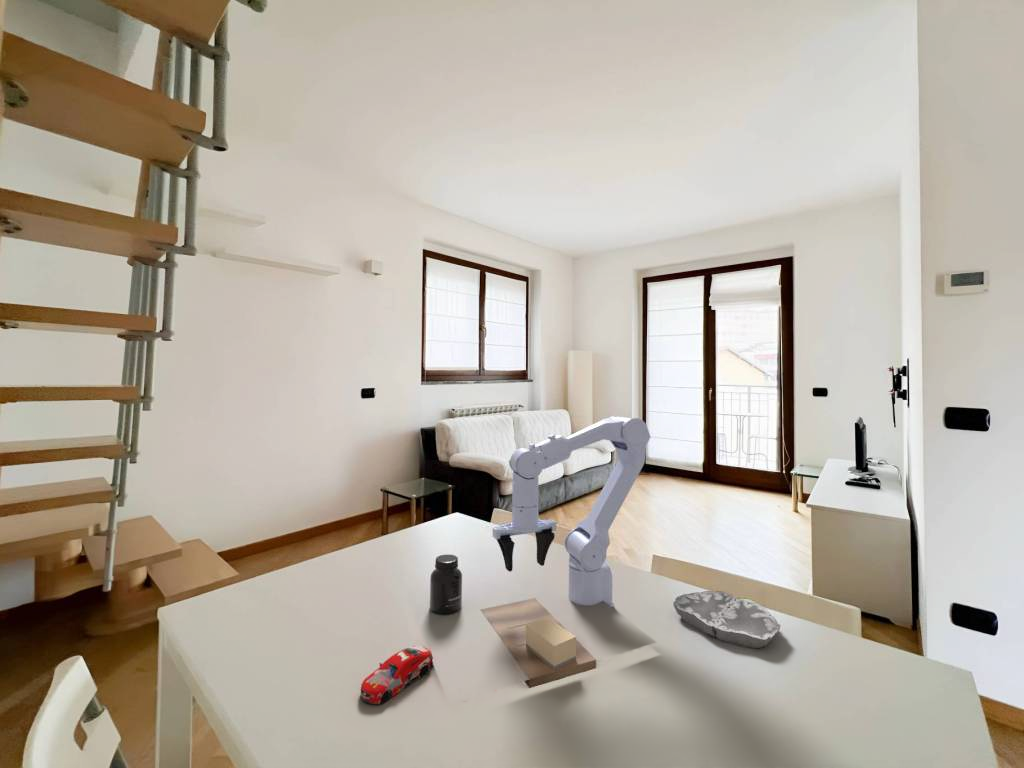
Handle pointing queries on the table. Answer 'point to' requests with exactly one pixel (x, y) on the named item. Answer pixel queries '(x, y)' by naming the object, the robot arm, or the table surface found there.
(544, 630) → the block
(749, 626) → the brain slice
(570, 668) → the board
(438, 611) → the supplement bottle
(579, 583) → the robot arm
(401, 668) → the race car
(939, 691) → the table surface
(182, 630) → the table surface
